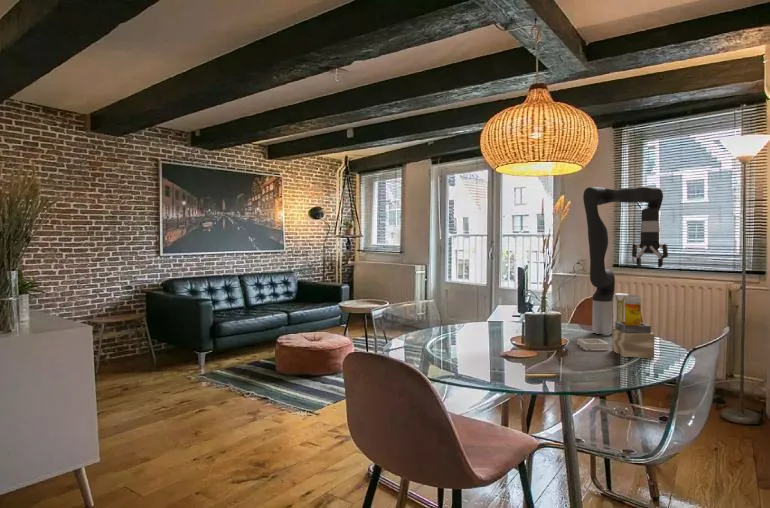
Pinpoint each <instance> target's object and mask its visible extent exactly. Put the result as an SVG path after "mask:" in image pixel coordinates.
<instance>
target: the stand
mask: <svg viewBox="0 0 770 508" xmlns="http://www.w3.org/2000/svg"><path fill="white" fill-rule="evenodd" d="M655 336H656V335H655V333H653V332H652V326H651V325H649V324H646V323H643V322H641V326H627V325H625V322H615V328H613V327H612V335H611V351H612V350H613V351H614V352H613V351H612V352H613V353H615V352H616V353H615V354H617V353H618V354H617V355H619V354H620V355H621V357H622V356H623V358H624V357H641V358H640V359H646V358H648V359H651V358H652V359H654V358H655ZM620 355H619V356H620Z"/></svg>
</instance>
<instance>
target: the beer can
mask: <svg viewBox="0 0 770 508" xmlns="http://www.w3.org/2000/svg"><path fill="white" fill-rule="evenodd" d="M641 309H642V298H641V295H637V294H628V295H626V297H625V325H627V326H641V323H642V322H641V321H642V320H641V316H642V314H641V313H642V310H641Z"/></svg>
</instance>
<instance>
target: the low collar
mask: <svg viewBox="0 0 770 508" xmlns="http://www.w3.org/2000/svg"><path fill="white" fill-rule="evenodd" d="M576 344H578V345H580V346H582V347H583V348H585V349H609V348H610V347H609V345H610V344H609V342H607V341H604V340H602V339H600V338H576ZM578 345H577V346H578Z"/></svg>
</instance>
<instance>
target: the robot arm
mask: <svg viewBox="0 0 770 508" xmlns="http://www.w3.org/2000/svg"><path fill="white" fill-rule="evenodd" d="M663 198H664V193H663V190H662V189H661V188H659V187H658V186H639V187H623V188H617V189H611V188H607V187H606V188H605V187H602V186H588V187H587V188H585V190H584V191H583V199H582V200H583V205H584V206H583V207H584V210H585V217H586V225H587V238H588V239H587V240H588V247H589V249H588V250H589V251H588V252H589V258H590V259H589V280H590V283H591V285H592V286H593V287H594V288H596V291H595V292H594V293H593V295H592V328H591V329H592V332H593V333H596V334H603V335H602V336H611V335H610V334H612V328H613V297H614V295H615V285H616V284H615V283H616V278H615V274H614V273H613V271H612V270H611V269H609V268H608V269H607V268H606V265H605V259H606V254H607V250H608V247H609V234H608V229H607V226H606V225H605V223H604V221H603V220H602V218H601V216H600V213H599V208H598V207H599V206H601V205H606V204H610V203H625V204H632V203H647V206H646V207H644V208H642V210H641V211H640V213H641V216H640V217H641V218H640V220H641V221H640V233H639V234H640V236H639V237H640V239H639V241H640V243H639V244H638V243H633V244H632V249H631V250H632V252H631V256H632V257H633V258H635V259H636V262H635V263H636V264H635V265H636V266H637V267H641V266H642V257H643V256H644V254H654V255H655V256H656V257H657V258H658V259H657V267H658V268H662V266H663V265H664V264H663V263H664V259H665V258H668V257H669V254H668V252H669V251H668V244H667V243H662V244H660V230H661V229H660V228H661V227H660V210H661V207H662V204H663V203H662V202H663ZM639 248H640V251H639V252H638V249H639ZM660 248H661V249H662V253H661V251H659V249H660ZM592 332H591V333H592ZM593 333H592V334H593ZM596 334H595V335H596Z"/></svg>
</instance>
